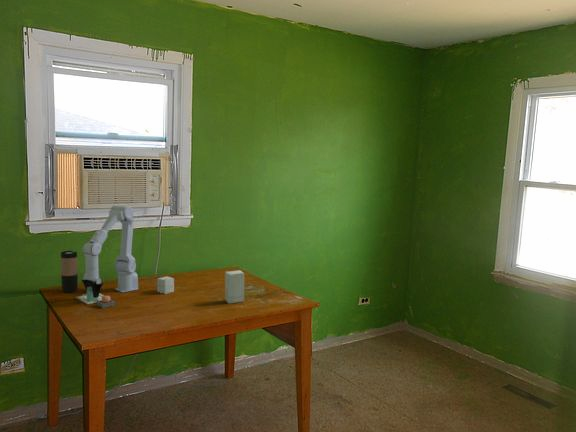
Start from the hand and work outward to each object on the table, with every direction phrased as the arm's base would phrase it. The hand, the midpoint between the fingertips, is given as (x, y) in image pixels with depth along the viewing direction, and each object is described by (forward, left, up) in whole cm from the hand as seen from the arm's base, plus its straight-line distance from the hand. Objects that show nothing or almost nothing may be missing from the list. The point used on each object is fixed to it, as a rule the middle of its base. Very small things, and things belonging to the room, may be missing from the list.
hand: (92, 295), depth 232 cm
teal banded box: (0, 0, -2) cm, 2 cm away
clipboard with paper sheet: (-2, -3, -3) cm, 4 cm away
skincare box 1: (-34, +8, -3) cm, 36 cm away
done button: (-2, +11, -1) cm, 11 cm away
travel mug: (+2, -24, -3) cm, 24 cm away
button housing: (-2, +11, -3) cm, 11 cm away
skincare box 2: (-52, +43, -3) cm, 67 cm away
